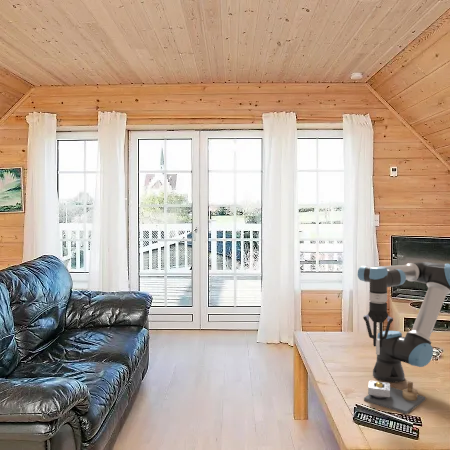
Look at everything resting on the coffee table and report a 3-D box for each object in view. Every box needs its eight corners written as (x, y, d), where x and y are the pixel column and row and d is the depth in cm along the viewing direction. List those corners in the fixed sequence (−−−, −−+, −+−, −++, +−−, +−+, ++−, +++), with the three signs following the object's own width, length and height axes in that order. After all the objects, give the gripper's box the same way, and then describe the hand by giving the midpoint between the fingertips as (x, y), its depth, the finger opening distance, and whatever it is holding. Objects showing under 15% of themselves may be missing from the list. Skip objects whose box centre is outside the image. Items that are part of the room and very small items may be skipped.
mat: (384, 387, 216) (384, 385, 216) (425, 399, 203) (425, 397, 203) (364, 400, 202) (364, 397, 202) (406, 414, 188) (406, 411, 188)
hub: (375, 391, 208) (375, 378, 208) (390, 396, 203) (390, 383, 203) (367, 396, 203) (368, 383, 203) (382, 401, 198) (383, 387, 198)
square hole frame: (369, 386, 209) (369, 380, 209) (389, 389, 206) (389, 383, 206) (368, 394, 200) (368, 387, 200) (389, 397, 197) (389, 390, 197)
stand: (405, 394, 206) (406, 378, 205) (419, 398, 201) (419, 382, 201) (400, 398, 201) (400, 382, 201) (413, 402, 197) (414, 386, 197)
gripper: (362, 302, 202) (361, 354, 203) (393, 304, 197) (393, 358, 199) (363, 299, 209) (363, 349, 210) (394, 301, 204) (393, 352, 206)
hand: (377, 353), depth 204 cm, fingers closed
